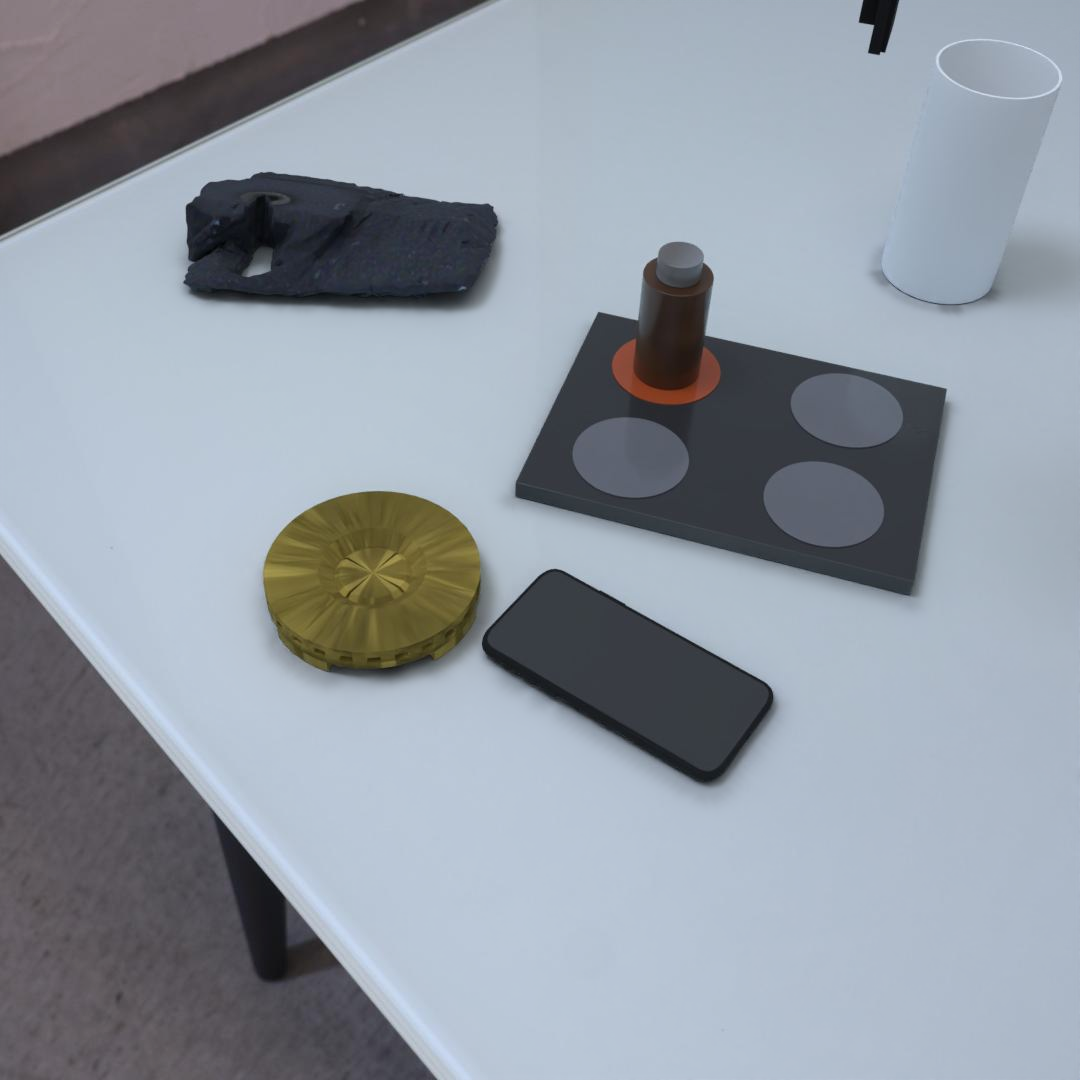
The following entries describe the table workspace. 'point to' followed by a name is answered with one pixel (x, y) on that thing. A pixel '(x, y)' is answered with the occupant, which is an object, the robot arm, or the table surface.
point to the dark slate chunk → (333, 238)
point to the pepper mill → (673, 317)
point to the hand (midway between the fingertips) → (992, 60)
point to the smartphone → (630, 673)
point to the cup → (968, 168)
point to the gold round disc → (372, 581)
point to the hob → (746, 455)
